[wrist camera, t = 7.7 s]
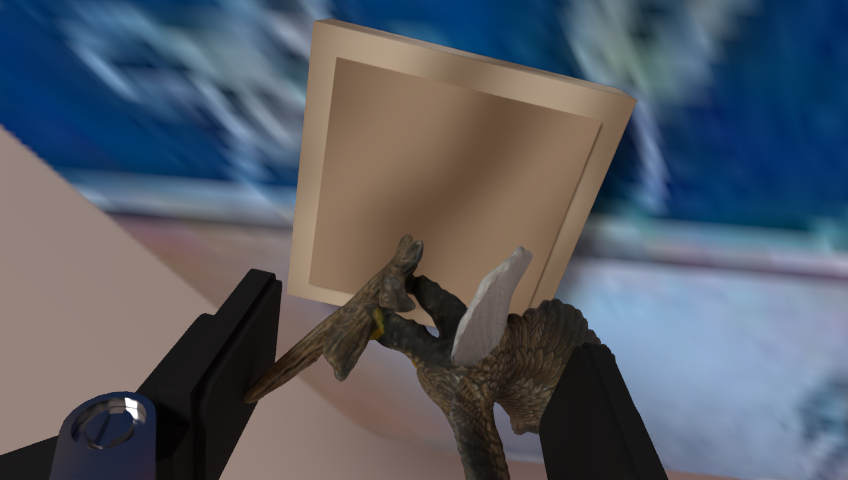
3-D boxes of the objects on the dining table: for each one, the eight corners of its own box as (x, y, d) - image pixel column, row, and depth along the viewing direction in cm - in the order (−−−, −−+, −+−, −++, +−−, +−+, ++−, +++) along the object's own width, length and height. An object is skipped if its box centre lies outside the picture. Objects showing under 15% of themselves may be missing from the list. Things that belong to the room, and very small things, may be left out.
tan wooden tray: (617, 88, 19) (639, 101, 17) (525, 317, 25) (532, 351, 22) (331, 18, 19) (312, 21, 16) (302, 267, 24) (285, 296, 22)
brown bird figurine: (255, 358, 14) (448, 560, 15) (208, 451, 7) (574, 813, 8) (439, 194, 16) (601, 388, 17) (549, 139, 9) (811, 475, 10)
